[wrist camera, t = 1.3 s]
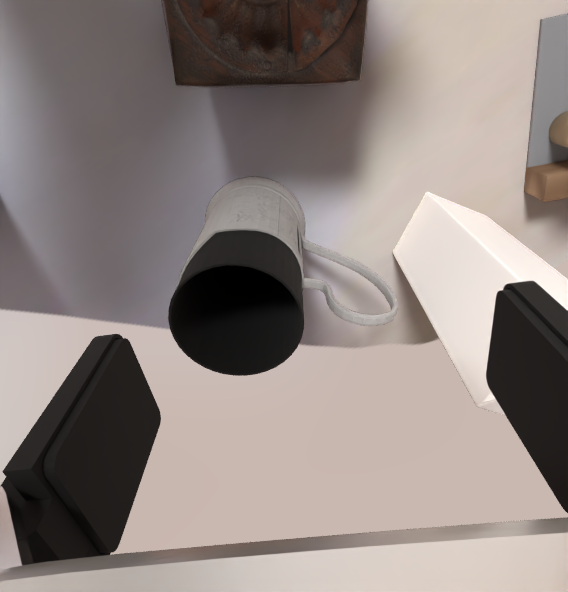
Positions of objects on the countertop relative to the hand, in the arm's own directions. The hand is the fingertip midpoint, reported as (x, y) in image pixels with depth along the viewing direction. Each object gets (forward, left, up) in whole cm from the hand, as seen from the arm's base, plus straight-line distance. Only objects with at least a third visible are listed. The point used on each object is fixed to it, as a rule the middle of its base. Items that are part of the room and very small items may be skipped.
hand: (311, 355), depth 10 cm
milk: (+9, +11, -25) cm, 29 cm away
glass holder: (+6, -2, -25) cm, 26 cm away
